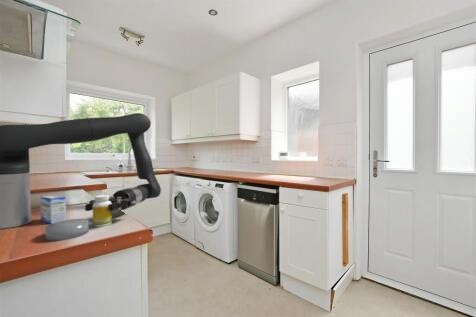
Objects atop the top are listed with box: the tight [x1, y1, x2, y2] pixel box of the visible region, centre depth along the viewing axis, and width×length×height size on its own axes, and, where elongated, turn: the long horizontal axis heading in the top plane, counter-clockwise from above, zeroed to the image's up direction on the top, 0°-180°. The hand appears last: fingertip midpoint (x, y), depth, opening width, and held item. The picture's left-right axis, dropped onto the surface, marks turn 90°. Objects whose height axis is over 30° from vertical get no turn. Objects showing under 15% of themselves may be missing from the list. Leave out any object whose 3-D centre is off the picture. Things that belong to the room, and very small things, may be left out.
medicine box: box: [40, 195, 67, 224], centre depth 78 cm, size 8×4×9 cm, turn 62°
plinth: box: [44, 218, 90, 242], centre depth 64 cm, size 10×10×3 cm
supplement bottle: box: [92, 194, 113, 228], centre depth 73 cm, size 5×5×10 cm
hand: (97, 208), depth 71 cm, fingers open, 7 cm apart
